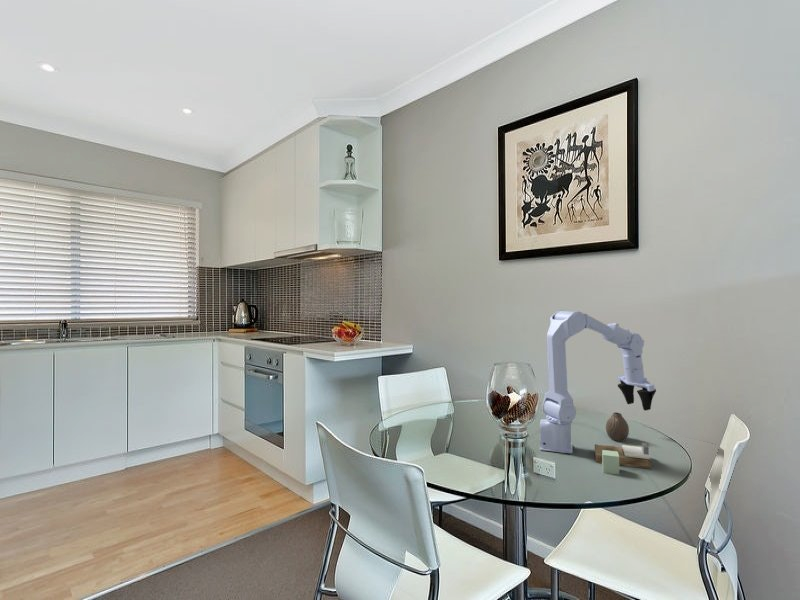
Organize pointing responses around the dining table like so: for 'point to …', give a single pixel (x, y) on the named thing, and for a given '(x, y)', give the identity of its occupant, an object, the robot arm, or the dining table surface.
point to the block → (610, 462)
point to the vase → (617, 427)
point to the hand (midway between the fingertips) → (638, 406)
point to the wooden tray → (622, 457)
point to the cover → (636, 451)
